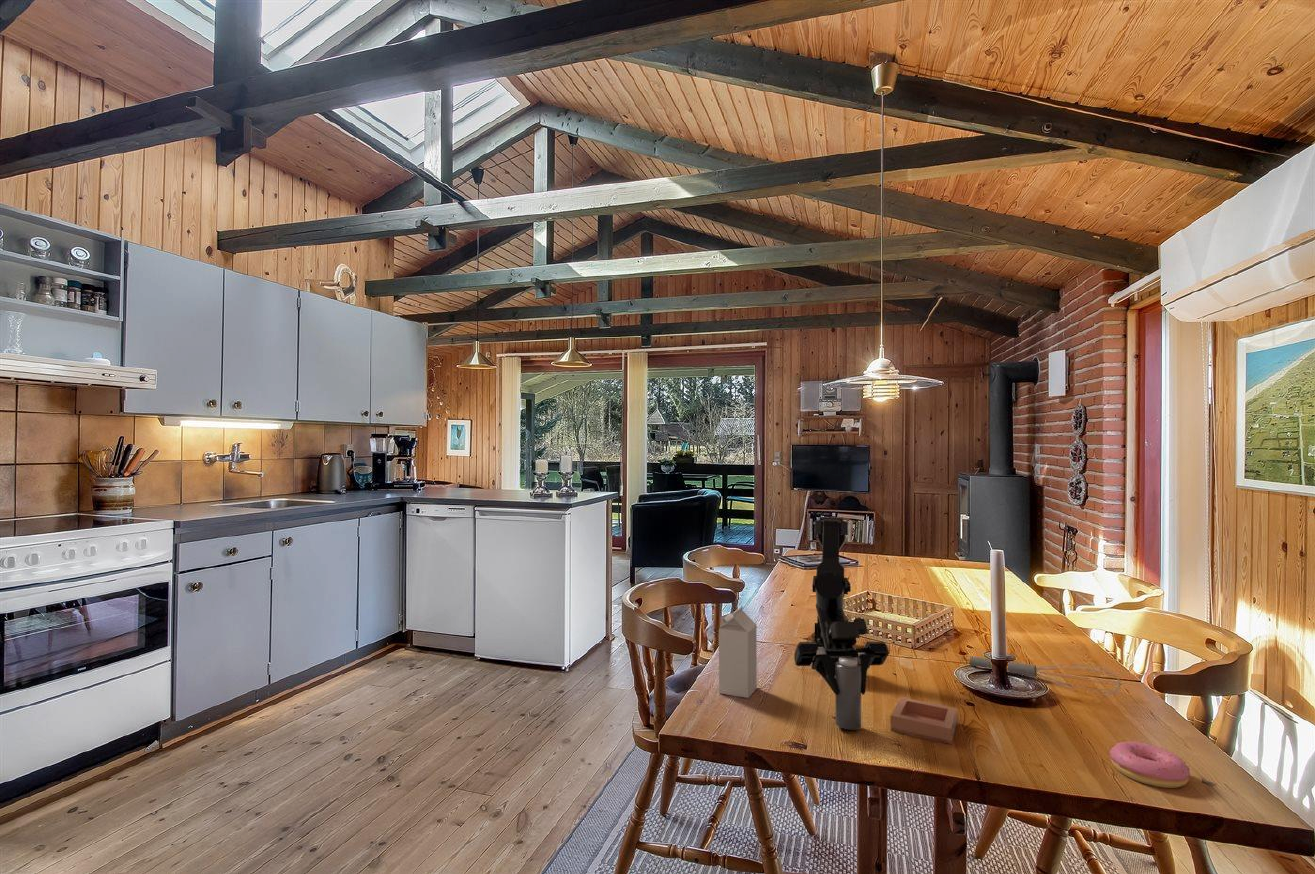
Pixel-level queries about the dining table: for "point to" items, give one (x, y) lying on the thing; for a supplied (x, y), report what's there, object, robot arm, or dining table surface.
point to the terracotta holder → (924, 720)
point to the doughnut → (1149, 764)
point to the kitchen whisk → (1031, 671)
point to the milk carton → (738, 655)
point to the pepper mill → (848, 693)
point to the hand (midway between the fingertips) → (850, 693)
